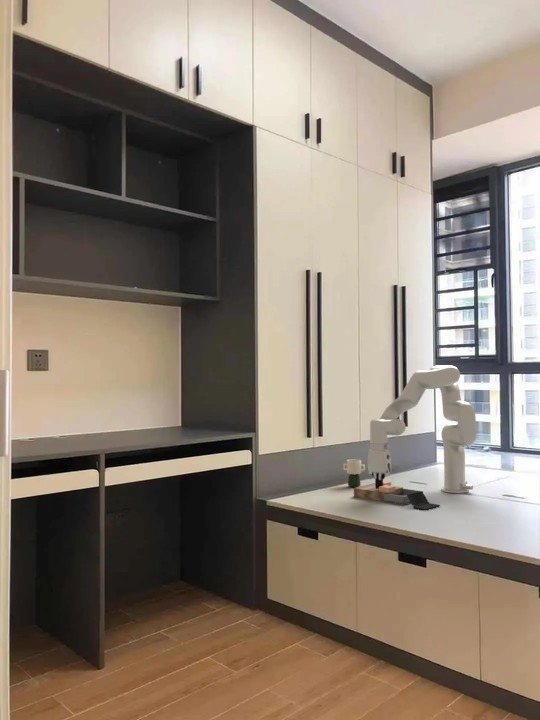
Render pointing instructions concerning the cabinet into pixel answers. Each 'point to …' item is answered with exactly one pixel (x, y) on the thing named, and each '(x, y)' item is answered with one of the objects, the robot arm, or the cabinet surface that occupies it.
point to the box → (399, 497)
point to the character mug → (354, 472)
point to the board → (374, 492)
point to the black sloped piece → (420, 501)
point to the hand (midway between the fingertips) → (379, 488)
